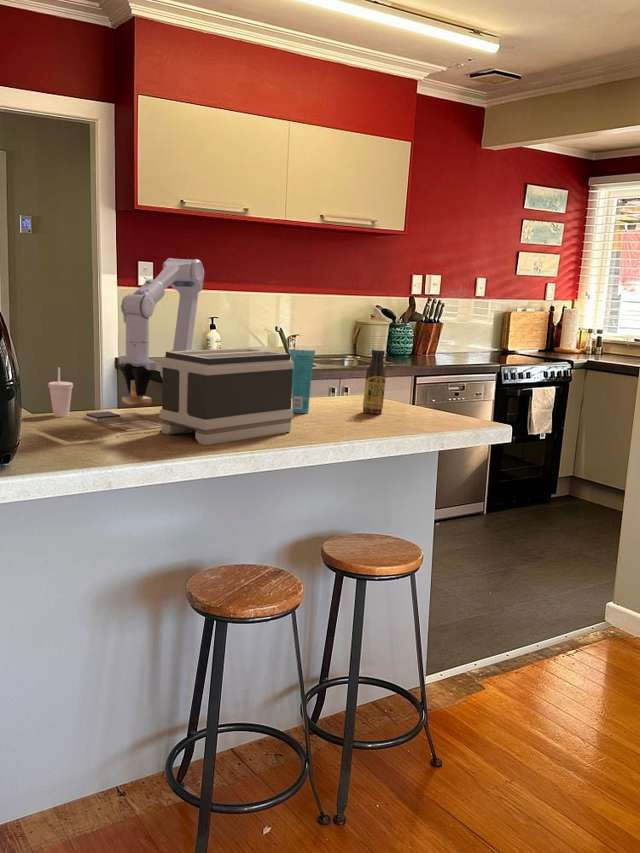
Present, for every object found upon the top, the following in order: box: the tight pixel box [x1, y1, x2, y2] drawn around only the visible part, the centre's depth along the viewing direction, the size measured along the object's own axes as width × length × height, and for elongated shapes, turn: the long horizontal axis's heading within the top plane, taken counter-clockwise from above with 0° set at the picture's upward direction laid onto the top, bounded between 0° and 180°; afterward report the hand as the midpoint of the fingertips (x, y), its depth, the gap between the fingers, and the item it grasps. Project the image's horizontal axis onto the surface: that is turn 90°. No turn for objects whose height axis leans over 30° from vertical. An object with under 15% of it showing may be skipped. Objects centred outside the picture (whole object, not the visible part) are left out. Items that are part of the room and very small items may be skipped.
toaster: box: [158, 347, 294, 447], centre depth 204 cm, size 18×34×21 cm, turn 137°
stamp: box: [121, 380, 153, 407], centre depth 202 cm, size 6×4×6 cm
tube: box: [289, 349, 316, 414], centre depth 237 cm, size 7×5×19 cm, turn 99°
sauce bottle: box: [362, 348, 387, 415], centre depth 243 cm, size 7×6×20 cm
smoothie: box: [47, 366, 74, 418], centre depth 211 cm, size 6×6×14 cm
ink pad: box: [83, 410, 123, 423], centre depth 210 cm, size 8×7×1 cm
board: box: [77, 412, 162, 437], centre depth 208 cm, size 18×22×1 cm
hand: (137, 394), depth 202 cm, fingers closed on stamp, 3 cm apart
